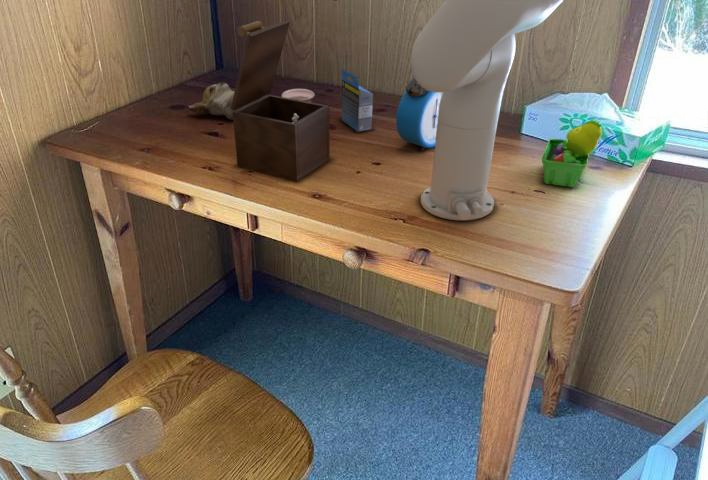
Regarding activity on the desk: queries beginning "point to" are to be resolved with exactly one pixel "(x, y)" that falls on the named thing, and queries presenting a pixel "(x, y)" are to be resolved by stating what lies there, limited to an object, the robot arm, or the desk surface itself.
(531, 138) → the desk surface
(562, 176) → the fruit basket
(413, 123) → the alarm clock
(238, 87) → the lid
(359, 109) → the blue cardboard box
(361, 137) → the desk surface
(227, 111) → the ceramic sculpture
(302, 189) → the desk surface
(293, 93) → the teacup
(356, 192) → the desk surface
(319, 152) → the chest
